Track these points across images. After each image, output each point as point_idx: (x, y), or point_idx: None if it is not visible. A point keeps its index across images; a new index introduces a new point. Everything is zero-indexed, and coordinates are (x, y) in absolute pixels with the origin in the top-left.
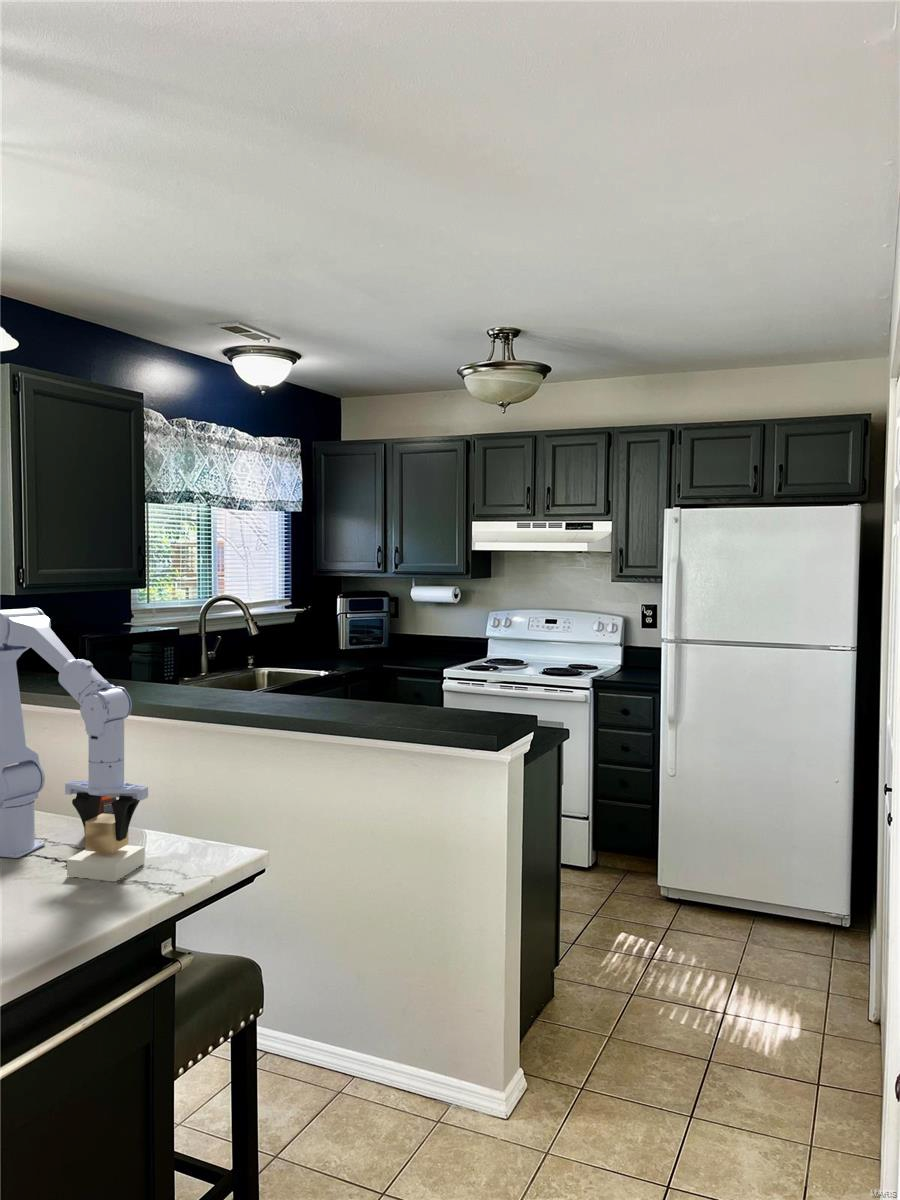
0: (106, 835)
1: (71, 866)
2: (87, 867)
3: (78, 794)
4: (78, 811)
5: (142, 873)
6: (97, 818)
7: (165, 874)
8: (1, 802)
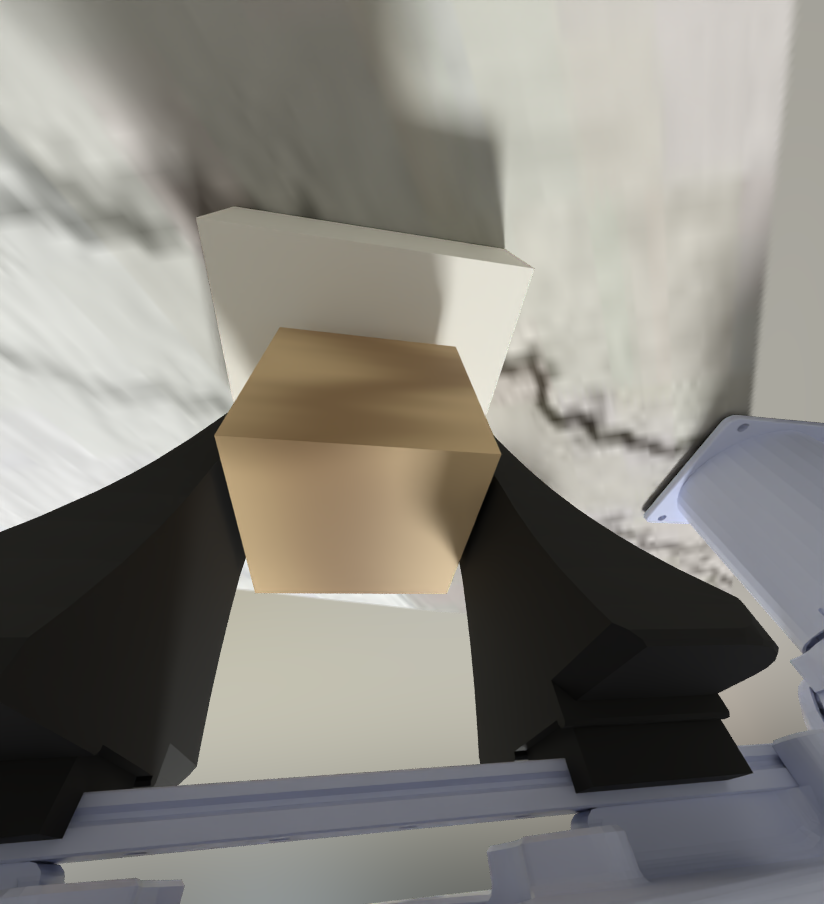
0: (300, 380)
1: (496, 257)
2: (400, 243)
3: (715, 749)
4: (607, 535)
5: (196, 341)
6: (433, 525)
7: (86, 342)
8: None
